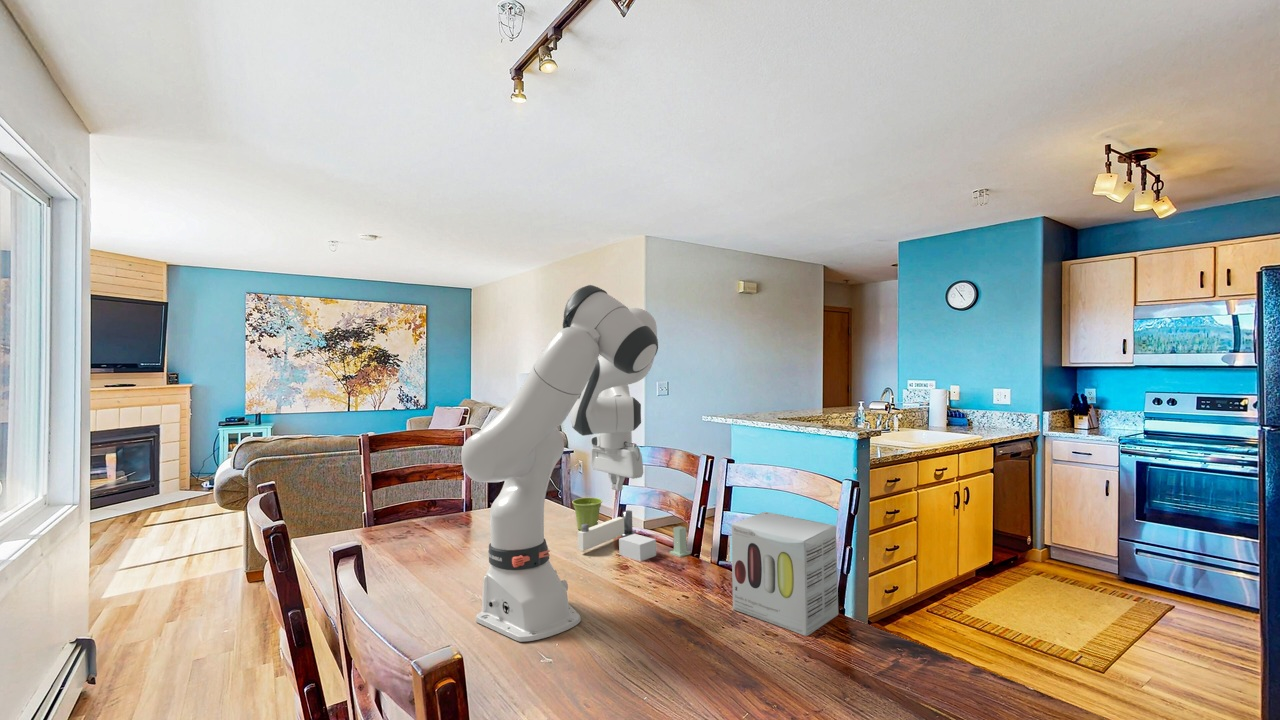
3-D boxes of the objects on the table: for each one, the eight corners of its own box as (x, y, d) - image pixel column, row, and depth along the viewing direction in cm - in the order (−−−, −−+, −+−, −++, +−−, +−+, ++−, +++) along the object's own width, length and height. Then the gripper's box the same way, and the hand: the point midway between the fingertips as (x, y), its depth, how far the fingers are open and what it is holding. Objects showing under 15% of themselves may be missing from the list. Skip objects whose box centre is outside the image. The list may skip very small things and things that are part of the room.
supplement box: (730, 611, 120) (728, 523, 120) (766, 592, 129) (764, 510, 129) (807, 638, 108) (804, 540, 108) (840, 614, 117) (838, 524, 117)
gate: (618, 533, 172) (618, 511, 172) (624, 534, 171) (623, 512, 171) (577, 549, 158) (577, 526, 158) (583, 551, 156) (582, 527, 156)
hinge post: (638, 535, 174) (637, 511, 174) (626, 538, 171) (626, 514, 171) (629, 532, 177) (628, 509, 177) (617, 535, 174) (617, 511, 174)
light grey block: (656, 556, 155) (655, 539, 155) (640, 562, 151) (639, 544, 151) (635, 550, 161) (634, 533, 161) (619, 555, 157) (618, 538, 157)
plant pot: (605, 524, 186) (604, 497, 186) (600, 533, 177) (599, 504, 177) (576, 524, 187) (575, 497, 187) (569, 533, 178) (569, 504, 178)
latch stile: (692, 553, 156) (691, 527, 156) (679, 557, 153) (679, 530, 153) (678, 548, 160) (677, 523, 160) (666, 552, 158) (665, 526, 158)
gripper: (648, 442, 157) (649, 494, 157) (604, 436, 173) (605, 482, 173) (629, 445, 153) (630, 498, 153) (586, 438, 169) (587, 486, 169)
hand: (617, 489), depth 163 cm, fingers closed
